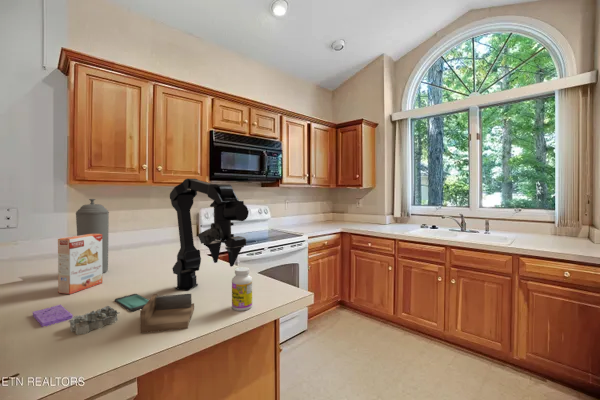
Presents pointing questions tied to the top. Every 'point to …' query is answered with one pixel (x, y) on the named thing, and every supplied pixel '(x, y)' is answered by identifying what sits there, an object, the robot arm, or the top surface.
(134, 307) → the smartphone
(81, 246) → the cracker box
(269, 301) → the top surface
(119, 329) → the top surface
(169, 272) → the top surface
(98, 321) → the egg carton
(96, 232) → the canister
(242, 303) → the supplement bottle
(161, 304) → the gray flat bar
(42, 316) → the sponges
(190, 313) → the brown piece
